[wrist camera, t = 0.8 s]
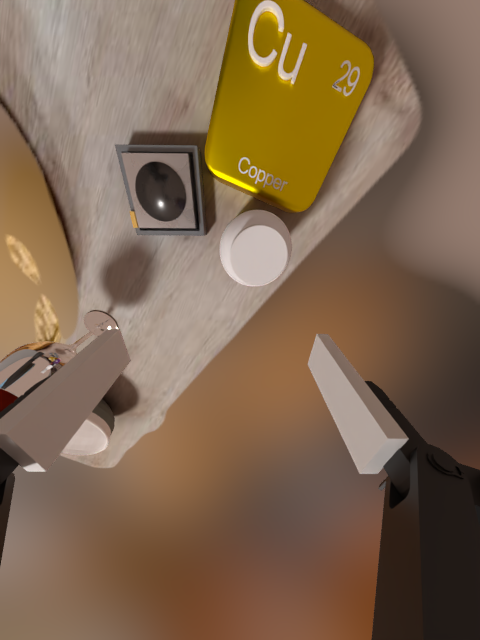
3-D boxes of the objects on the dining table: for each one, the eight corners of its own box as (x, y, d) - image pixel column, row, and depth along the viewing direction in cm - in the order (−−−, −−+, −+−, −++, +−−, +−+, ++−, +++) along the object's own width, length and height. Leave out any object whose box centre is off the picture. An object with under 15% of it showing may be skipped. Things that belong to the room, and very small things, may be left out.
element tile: (205, 176, 26) (199, 167, 22) (242, 7, 19) (243, -54, 15) (298, 217, 28) (308, 217, 24) (359, 82, 21) (389, 48, 17)
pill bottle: (229, 208, 27) (221, 196, 15) (280, 218, 28) (314, 216, 15) (222, 262, 31) (211, 290, 18) (267, 270, 32) (286, 302, 19)
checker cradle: (125, 151, 24) (112, 143, 21) (200, 152, 24) (196, 144, 22) (144, 234, 29) (135, 235, 26) (206, 234, 29) (203, 235, 26)
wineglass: (121, 312, 36) (29, 385, 20) (123, 344, 39) (46, 427, 24) (77, 302, 34) (-59, 371, 19) (83, 336, 38) (-26, 417, 23)
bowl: (134, 424, 54) (118, 455, 46) (71, 424, 53) (45, 455, 46) (114, 379, 45) (90, 409, 37) (38, 379, 44) (-1, 409, 37)
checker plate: (129, 158, 23) (120, 152, 21) (191, 158, 23) (187, 153, 21) (145, 227, 27) (138, 227, 25) (198, 227, 27) (195, 228, 25)
